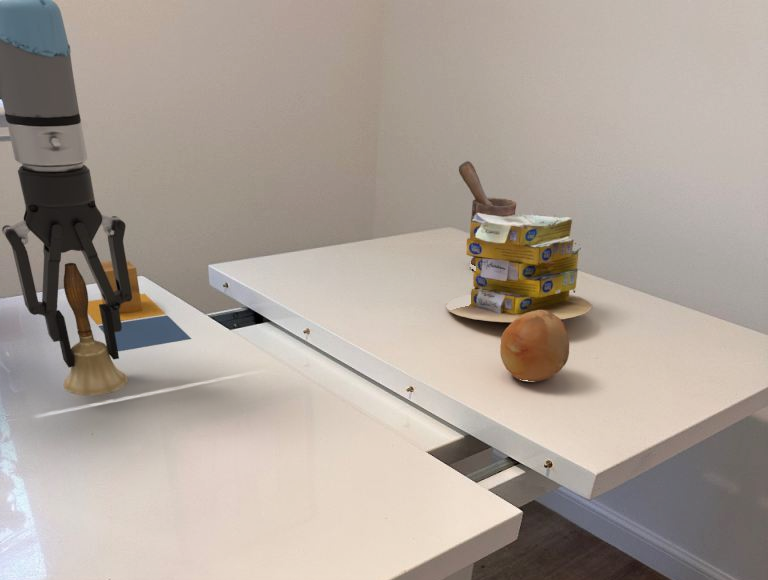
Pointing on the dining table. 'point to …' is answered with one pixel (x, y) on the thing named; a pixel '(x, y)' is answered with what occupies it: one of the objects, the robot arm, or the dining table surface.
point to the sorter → (141, 326)
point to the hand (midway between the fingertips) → (91, 358)
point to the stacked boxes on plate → (522, 268)
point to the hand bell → (88, 346)
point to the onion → (535, 346)
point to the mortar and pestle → (484, 197)
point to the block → (136, 300)
